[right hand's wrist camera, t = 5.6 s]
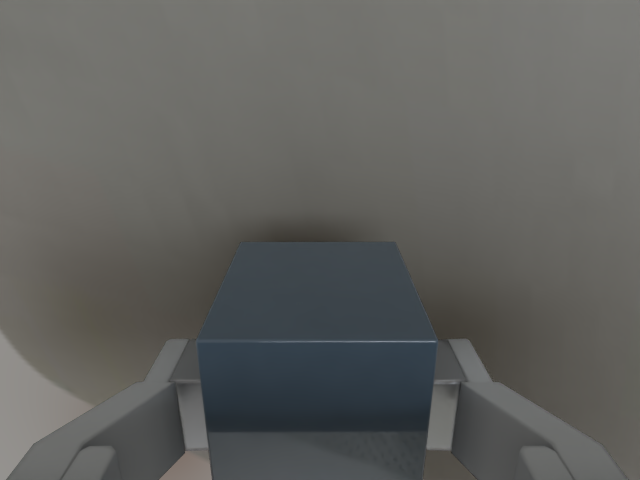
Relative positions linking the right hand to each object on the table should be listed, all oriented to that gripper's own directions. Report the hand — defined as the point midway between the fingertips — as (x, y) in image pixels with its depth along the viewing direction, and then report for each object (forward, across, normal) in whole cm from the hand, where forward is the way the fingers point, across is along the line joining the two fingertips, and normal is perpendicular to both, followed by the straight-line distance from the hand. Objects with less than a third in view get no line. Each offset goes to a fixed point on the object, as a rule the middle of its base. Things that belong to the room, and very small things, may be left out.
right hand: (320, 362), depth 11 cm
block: (+2, 0, 0) cm, 2 cm away
